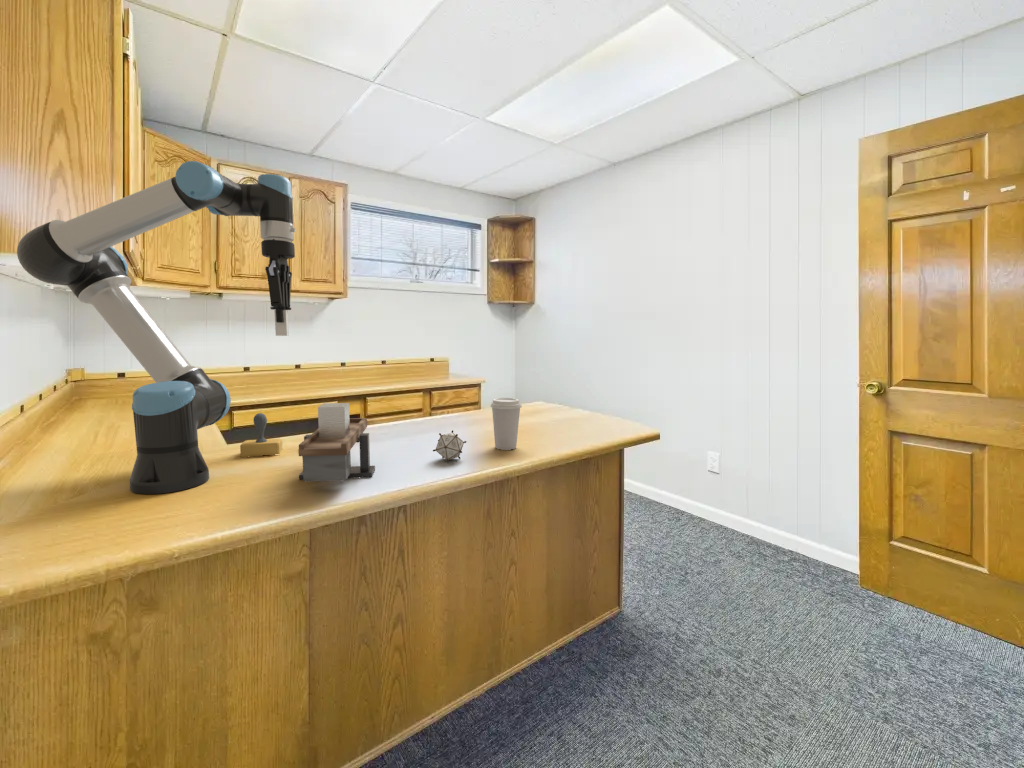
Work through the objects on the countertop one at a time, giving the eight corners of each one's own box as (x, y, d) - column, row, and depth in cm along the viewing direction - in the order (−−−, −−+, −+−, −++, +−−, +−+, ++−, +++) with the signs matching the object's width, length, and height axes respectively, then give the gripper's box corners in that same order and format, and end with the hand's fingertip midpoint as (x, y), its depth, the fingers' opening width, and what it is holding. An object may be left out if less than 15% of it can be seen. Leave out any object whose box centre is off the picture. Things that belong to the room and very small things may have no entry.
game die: (449, 470, 137) (454, 438, 142) (469, 465, 132) (474, 432, 137) (424, 460, 132) (431, 427, 137) (444, 454, 127) (450, 420, 132)
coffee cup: (526, 446, 151) (527, 399, 149) (510, 453, 143) (510, 403, 141) (501, 442, 156) (501, 396, 154) (484, 448, 148) (484, 400, 146)
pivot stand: (306, 472, 123) (304, 433, 121) (375, 470, 125) (374, 431, 124) (299, 479, 117) (297, 438, 115) (371, 477, 119) (370, 436, 118)
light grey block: (324, 433, 120) (323, 403, 119) (349, 432, 121) (349, 403, 120) (319, 438, 114) (317, 407, 113) (345, 438, 115) (344, 407, 114)
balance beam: (329, 448, 134) (328, 418, 133) (368, 447, 136) (367, 418, 135) (298, 483, 105) (297, 445, 104) (348, 481, 106) (347, 443, 105)
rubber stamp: (240, 457, 135) (238, 415, 134) (245, 452, 141) (243, 412, 139) (279, 455, 138) (277, 414, 137) (282, 450, 144) (280, 410, 142)
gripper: (285, 237, 115) (289, 336, 118) (300, 245, 128) (304, 335, 131) (252, 236, 114) (257, 336, 117) (270, 244, 127) (275, 334, 130)
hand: (282, 335), depth 124 cm, fingers closed
